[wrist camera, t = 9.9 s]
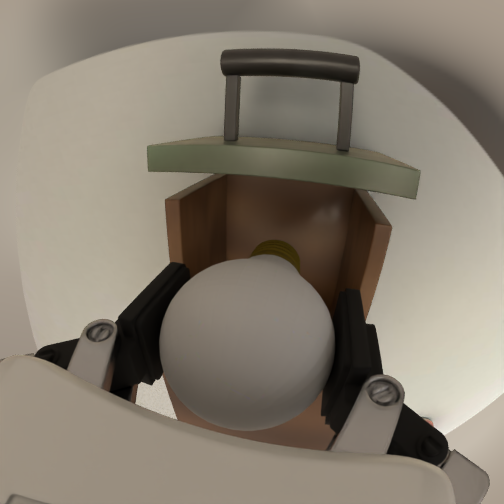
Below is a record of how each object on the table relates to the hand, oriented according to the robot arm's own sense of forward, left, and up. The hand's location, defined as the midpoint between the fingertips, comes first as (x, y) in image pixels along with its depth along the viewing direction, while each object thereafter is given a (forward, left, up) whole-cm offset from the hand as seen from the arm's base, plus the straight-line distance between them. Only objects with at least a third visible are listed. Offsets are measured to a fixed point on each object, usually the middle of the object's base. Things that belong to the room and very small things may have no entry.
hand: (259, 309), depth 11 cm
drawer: (-2, 0, -10) cm, 10 cm away
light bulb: (0, 0, -5) cm, 5 cm away
